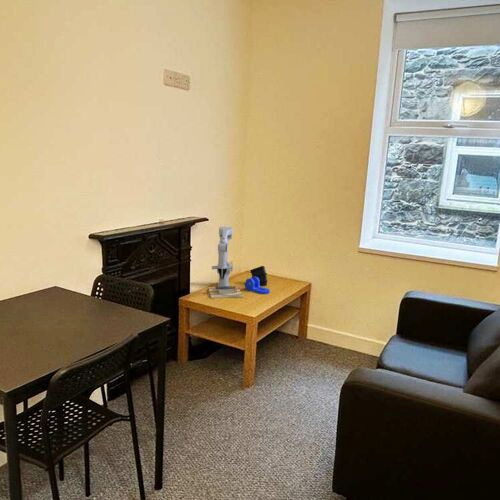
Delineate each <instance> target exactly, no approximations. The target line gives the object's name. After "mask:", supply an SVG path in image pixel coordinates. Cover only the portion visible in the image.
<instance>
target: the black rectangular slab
mask: <svg viewBox="0 0 500 500" xmlns="http://www.w3.org/2000/svg"><path fill="white" fill-rule="evenodd" d="M249 273H250V274H251V278H252V277H258V278H259V280H260V287H262V286H263V287H267V285H268V283H269V282H268V277H267V275H268V273H267V272H266V266H264V265H260V266H258V267H255V268H252V269H250V271H249Z"/></svg>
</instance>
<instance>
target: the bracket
mask: <svg viewBox="0 0 500 500" xmlns="http://www.w3.org/2000/svg"><path fill="white" fill-rule="evenodd" d="M244 286H245V287H244V289H245V291H249V292H253V293H257V294H259V295H269V294H270V293H271V289H269V288H266V287H264V286H263V287H262V286H261V285H260V280H259V278H258V277H252V276H251V277H249V278H247V279H245V284H244Z"/></svg>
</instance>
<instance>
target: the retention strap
mask: <svg viewBox="0 0 500 500" xmlns="http://www.w3.org/2000/svg"><path fill="white" fill-rule="evenodd" d="M233 286H234V285H233ZM233 286H232V287H218V286H214V287H215V289H216V290H217V289H235V288H236V287H237V285H236V286H234V287H233Z"/></svg>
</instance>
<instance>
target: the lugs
mask: <svg viewBox="0 0 500 500" xmlns="http://www.w3.org/2000/svg"><path fill="white" fill-rule="evenodd" d="M234 286H236V287H237V285H232V287H234ZM215 287H216V286H212V288H213V293H215ZM233 291H234V293H237V288H235V289H233Z"/></svg>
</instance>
